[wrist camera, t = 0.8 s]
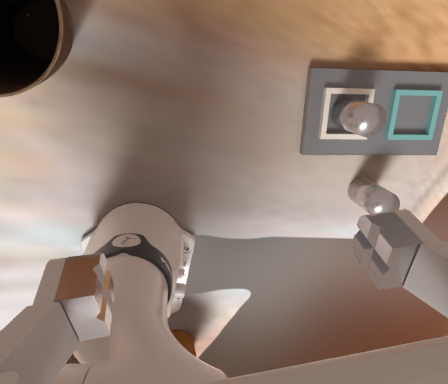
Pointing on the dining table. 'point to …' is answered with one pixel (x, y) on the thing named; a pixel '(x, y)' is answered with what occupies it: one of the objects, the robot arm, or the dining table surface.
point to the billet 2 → (372, 196)
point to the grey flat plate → (383, 95)
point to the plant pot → (32, 42)
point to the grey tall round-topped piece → (359, 117)
